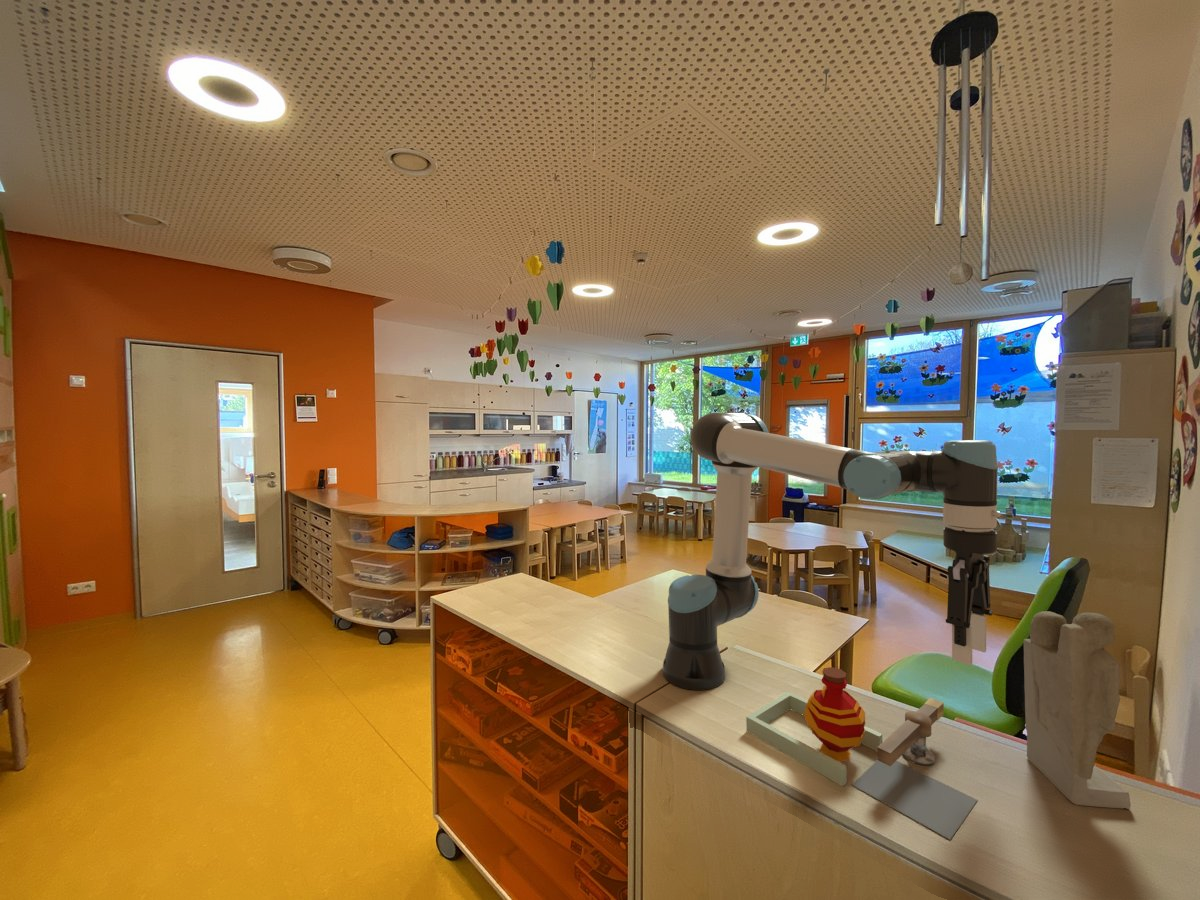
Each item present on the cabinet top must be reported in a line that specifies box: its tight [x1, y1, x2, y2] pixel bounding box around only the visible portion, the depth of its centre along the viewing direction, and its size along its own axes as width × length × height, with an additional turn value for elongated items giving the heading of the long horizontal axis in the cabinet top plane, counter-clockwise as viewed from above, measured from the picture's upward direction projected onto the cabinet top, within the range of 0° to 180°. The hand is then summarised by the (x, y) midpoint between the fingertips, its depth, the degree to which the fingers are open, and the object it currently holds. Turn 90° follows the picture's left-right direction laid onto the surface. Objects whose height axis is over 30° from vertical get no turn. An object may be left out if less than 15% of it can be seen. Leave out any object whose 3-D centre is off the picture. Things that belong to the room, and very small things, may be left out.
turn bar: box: [876, 697, 945, 766], centre depth 86 cm, size 4×23×2 cm, turn 127°
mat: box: [851, 760, 978, 841], centre depth 79 cm, size 14×12×1 cm
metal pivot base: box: [902, 737, 936, 767], centre depth 88 cm, size 5×5×4 cm
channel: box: [745, 691, 883, 787], centre depth 93 cm, size 19×15×3 cm
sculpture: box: [1023, 610, 1131, 810], centre depth 79 cm, size 15×8×30 cm, turn 168°
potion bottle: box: [804, 666, 866, 762], centre depth 89 cm, size 10×10×15 cm
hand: (969, 655), depth 86 cm, fingers open, 7 cm apart
